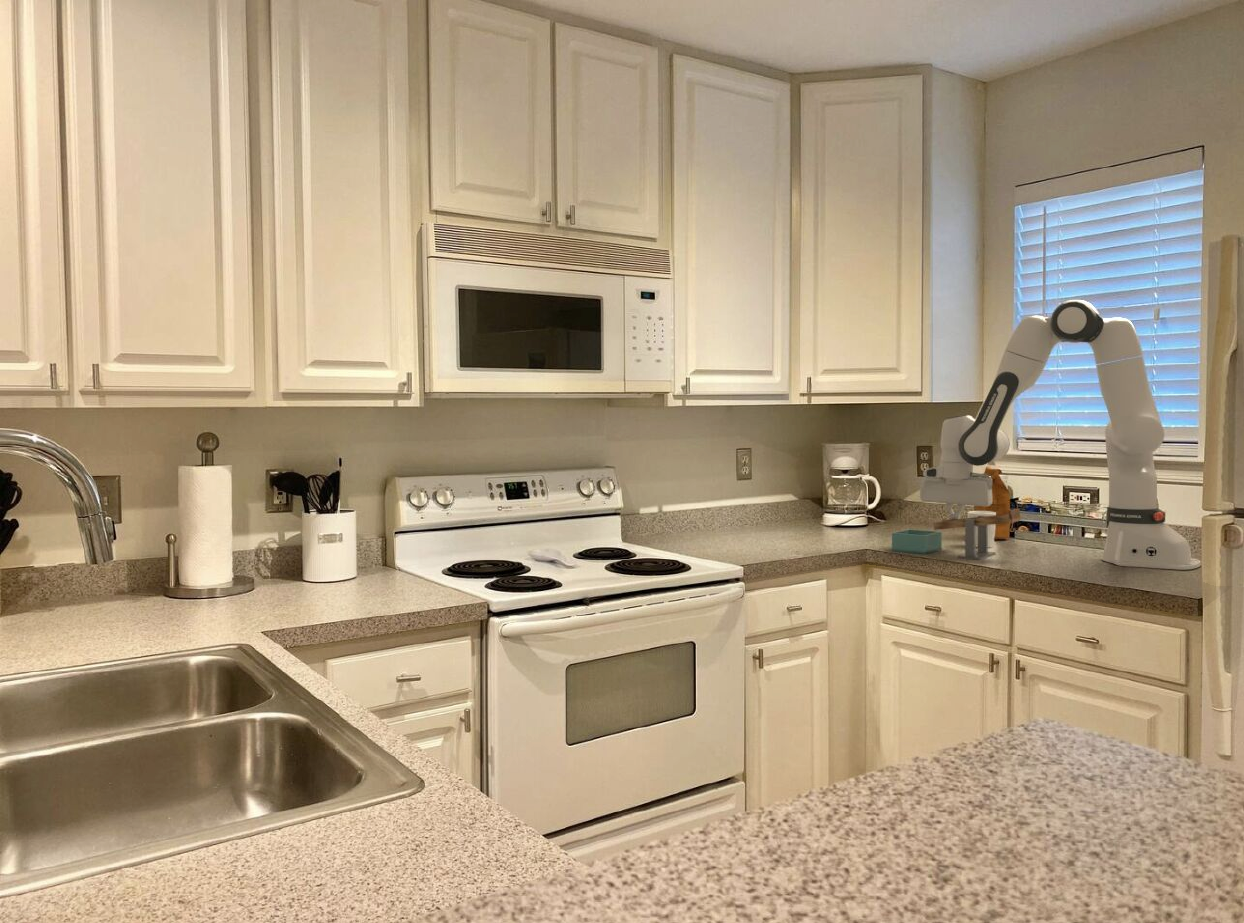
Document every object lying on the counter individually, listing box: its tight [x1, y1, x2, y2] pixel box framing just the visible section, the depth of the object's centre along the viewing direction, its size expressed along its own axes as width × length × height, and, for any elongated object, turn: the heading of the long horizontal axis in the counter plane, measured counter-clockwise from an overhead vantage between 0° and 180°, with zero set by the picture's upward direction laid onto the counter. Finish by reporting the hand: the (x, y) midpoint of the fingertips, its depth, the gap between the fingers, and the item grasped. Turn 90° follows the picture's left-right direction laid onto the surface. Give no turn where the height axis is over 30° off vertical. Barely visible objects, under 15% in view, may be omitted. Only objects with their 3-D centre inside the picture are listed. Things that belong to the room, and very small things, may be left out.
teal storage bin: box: [891, 528, 943, 555], centre depth 273 cm, size 10×10×5 cm
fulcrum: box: [957, 516, 996, 561], centre depth 261 cm, size 6×11×11 cm, turn 137°
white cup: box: [966, 510, 996, 549], centre depth 278 cm, size 8×8×10 cm
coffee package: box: [973, 466, 1011, 541], centre depth 293 cm, size 10×12×22 cm
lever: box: [933, 508, 1022, 531], centre depth 263 cm, size 22×13×3 cm, turn 47°
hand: (955, 519), depth 272 cm, fingers closed
